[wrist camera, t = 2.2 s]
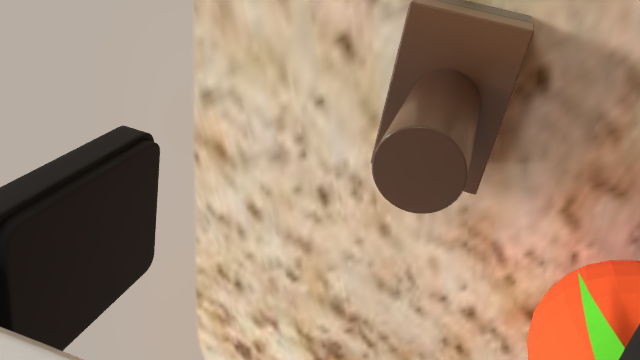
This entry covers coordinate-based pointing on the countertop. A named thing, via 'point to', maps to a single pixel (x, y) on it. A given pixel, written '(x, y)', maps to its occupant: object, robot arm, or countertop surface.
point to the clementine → (588, 314)
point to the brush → (446, 101)
